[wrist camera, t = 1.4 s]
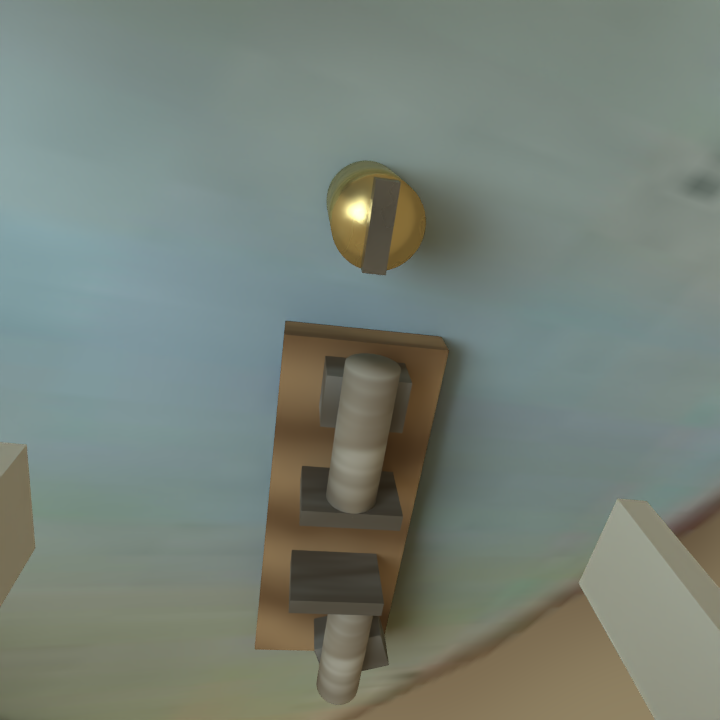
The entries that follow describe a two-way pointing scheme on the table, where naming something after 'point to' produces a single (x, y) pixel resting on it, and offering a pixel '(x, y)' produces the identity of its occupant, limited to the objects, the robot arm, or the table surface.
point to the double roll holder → (343, 492)
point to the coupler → (374, 217)
